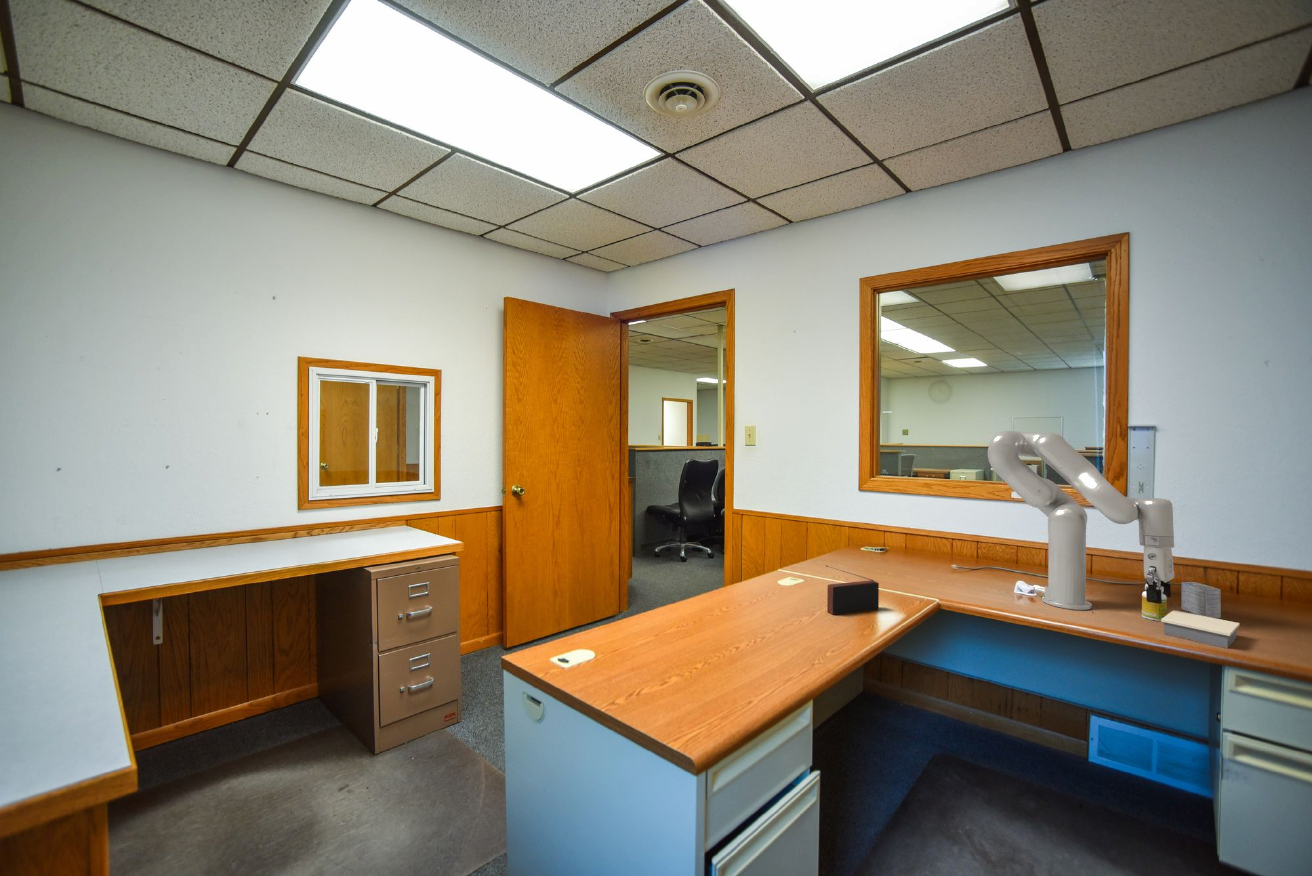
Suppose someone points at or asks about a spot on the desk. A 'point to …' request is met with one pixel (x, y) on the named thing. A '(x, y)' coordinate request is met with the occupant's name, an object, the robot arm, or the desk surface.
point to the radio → (852, 596)
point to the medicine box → (1201, 599)
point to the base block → (1200, 628)
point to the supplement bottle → (1154, 607)
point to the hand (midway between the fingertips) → (1158, 599)
